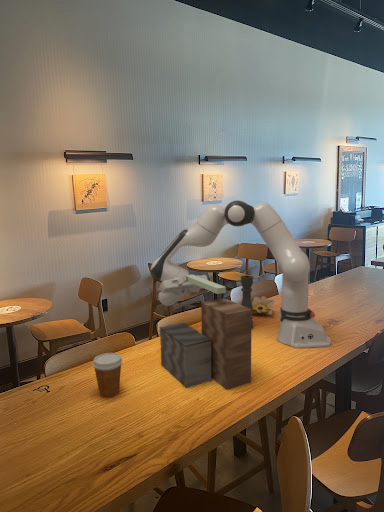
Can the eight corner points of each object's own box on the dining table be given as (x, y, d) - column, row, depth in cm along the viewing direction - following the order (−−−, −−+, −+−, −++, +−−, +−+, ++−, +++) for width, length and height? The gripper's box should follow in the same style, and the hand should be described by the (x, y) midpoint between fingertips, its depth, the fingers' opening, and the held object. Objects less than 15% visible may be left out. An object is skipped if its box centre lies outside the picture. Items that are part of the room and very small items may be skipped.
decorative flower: (242, 313, 200) (244, 294, 200) (245, 312, 210) (248, 294, 211) (271, 318, 195) (273, 298, 195) (273, 316, 206) (275, 298, 206)
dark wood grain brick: (161, 365, 146) (160, 327, 143) (184, 359, 151) (183, 322, 148) (186, 387, 129) (185, 345, 126) (211, 380, 133) (211, 339, 131)
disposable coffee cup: (111, 382, 133) (109, 349, 131) (129, 391, 127) (128, 357, 125) (88, 393, 126) (86, 359, 124) (106, 403, 120) (104, 367, 118)
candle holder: (242, 330, 180) (243, 278, 176) (237, 326, 186) (238, 275, 182) (255, 329, 182) (255, 277, 178) (249, 324, 188) (250, 274, 184)
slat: (184, 280, 153) (184, 275, 152) (192, 279, 154) (192, 274, 154) (217, 294, 132) (217, 288, 132) (225, 292, 134) (225, 287, 133)
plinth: (202, 370, 141) (201, 302, 136) (224, 364, 145) (224, 298, 141) (226, 389, 127) (226, 314, 123) (250, 382, 132) (251, 309, 127)
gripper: (154, 284, 158) (166, 273, 147) (197, 278, 168) (211, 267, 157) (157, 298, 157) (170, 288, 145) (200, 291, 166) (215, 281, 155)
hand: (191, 277), depth 151 cm, fingers closed on slat, 3 cm apart
